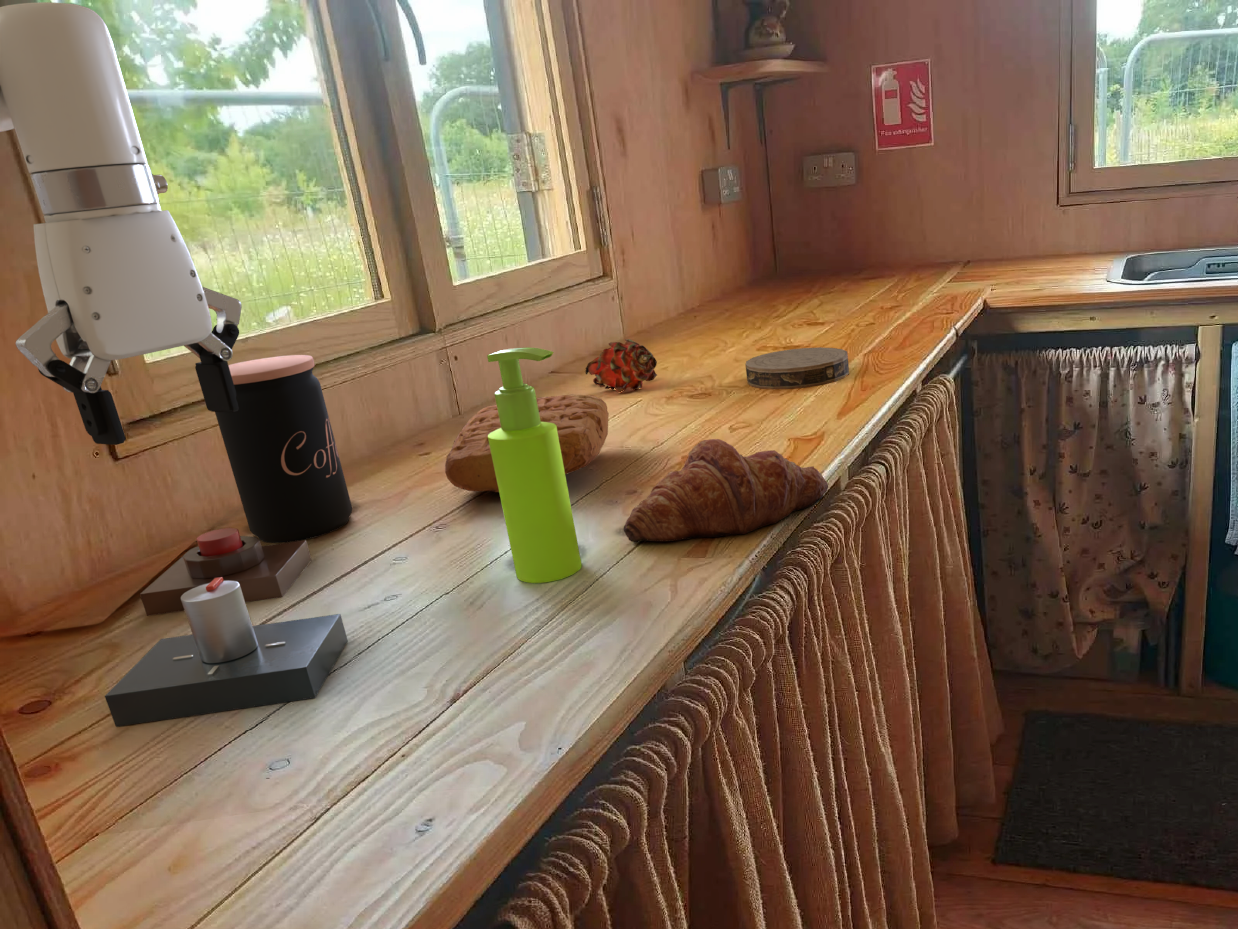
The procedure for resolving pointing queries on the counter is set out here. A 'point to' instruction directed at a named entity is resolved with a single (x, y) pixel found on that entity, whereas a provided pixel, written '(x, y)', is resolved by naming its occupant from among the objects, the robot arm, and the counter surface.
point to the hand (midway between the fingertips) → (169, 426)
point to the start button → (219, 541)
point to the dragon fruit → (623, 366)
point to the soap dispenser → (531, 477)
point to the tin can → (797, 368)
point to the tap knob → (219, 621)
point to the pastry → (723, 495)
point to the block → (230, 573)
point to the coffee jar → (284, 451)
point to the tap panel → (229, 673)
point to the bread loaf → (572, 415)
